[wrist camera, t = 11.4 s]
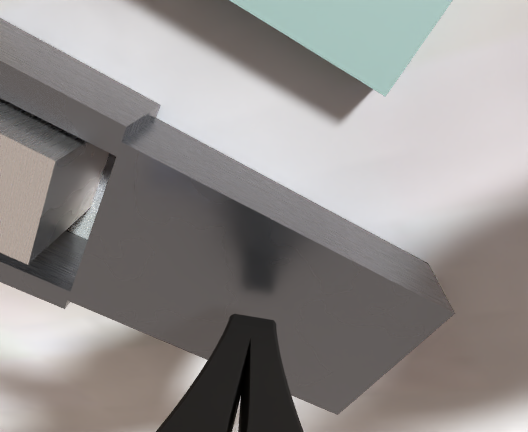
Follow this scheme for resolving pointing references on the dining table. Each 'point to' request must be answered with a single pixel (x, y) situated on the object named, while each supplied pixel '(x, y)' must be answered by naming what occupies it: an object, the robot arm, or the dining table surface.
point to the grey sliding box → (214, 242)
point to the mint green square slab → (355, 32)
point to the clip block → (42, 181)
